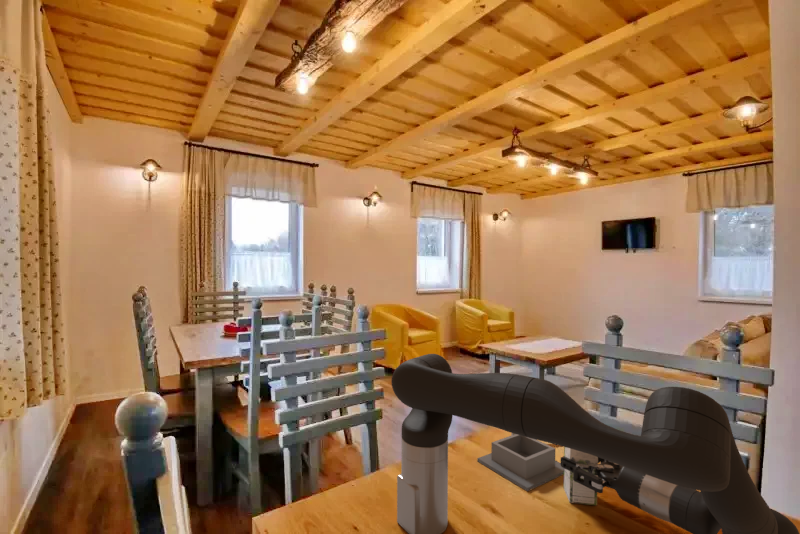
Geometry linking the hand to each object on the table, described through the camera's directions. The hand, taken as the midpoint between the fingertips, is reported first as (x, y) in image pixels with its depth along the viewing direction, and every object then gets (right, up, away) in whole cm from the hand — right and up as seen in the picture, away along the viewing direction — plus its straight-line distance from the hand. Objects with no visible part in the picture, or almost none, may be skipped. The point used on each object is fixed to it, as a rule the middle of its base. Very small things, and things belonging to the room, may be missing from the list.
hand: (572, 455), depth 90 cm
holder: (-8, -8, +12) cm, 16 cm away
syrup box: (+1, -9, -1) cm, 9 cm away
